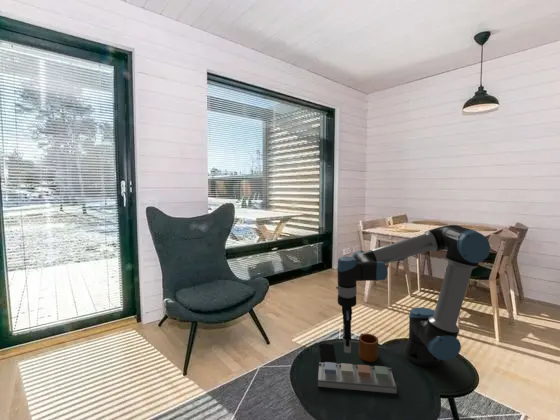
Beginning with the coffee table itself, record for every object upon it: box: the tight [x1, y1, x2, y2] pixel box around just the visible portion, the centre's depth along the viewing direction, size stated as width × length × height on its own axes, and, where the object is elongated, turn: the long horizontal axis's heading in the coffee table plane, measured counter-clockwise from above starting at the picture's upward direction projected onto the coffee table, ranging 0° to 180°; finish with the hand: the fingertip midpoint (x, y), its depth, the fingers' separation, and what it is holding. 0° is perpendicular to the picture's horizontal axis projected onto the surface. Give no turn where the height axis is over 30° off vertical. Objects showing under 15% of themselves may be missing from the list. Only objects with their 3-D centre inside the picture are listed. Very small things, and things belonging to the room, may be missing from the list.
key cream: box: [340, 362, 354, 376], centre depth 130 cm, size 5×5×2 cm
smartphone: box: [318, 343, 337, 364], centre depth 148 cm, size 7×1×15 cm
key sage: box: [374, 365, 388, 379], centre depth 127 cm, size 5×5×2 cm
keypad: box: [317, 361, 398, 394], centre depth 129 cm, size 31×12×3 cm, turn 80°
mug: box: [358, 333, 379, 363], centre depth 146 cm, size 9×12×9 cm
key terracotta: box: [357, 364, 371, 377], centre depth 128 cm, size 5×5×2 cm
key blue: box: [324, 362, 337, 374], centre depth 131 cm, size 5×5×2 cm
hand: (346, 346), depth 128 cm, fingers open, 8 cm apart
